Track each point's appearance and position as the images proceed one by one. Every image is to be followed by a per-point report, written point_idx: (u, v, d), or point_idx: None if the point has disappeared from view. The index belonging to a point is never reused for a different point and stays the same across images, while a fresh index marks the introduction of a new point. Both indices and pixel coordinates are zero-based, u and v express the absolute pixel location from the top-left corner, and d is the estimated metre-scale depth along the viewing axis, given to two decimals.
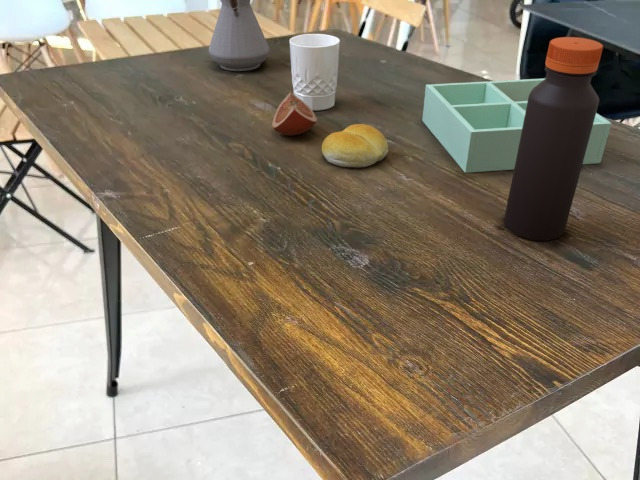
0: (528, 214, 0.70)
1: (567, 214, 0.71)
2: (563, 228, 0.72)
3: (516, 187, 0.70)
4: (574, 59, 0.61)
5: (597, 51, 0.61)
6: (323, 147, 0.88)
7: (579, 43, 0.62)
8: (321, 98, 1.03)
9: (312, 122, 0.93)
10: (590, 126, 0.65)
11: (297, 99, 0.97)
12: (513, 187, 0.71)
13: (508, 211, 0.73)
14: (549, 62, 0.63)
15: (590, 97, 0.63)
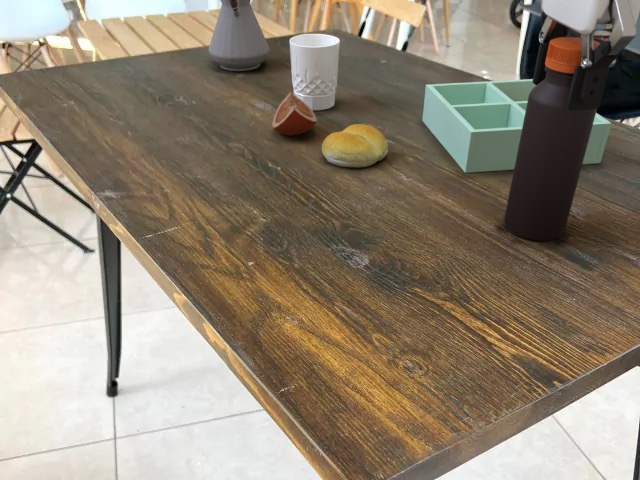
0: (528, 214, 0.70)
1: (567, 214, 0.71)
2: (563, 228, 0.72)
3: (516, 187, 0.70)
4: (574, 59, 0.61)
5: None
6: (323, 147, 0.88)
7: (579, 43, 0.62)
8: (321, 98, 1.03)
9: (312, 122, 0.93)
10: (590, 126, 0.65)
11: (297, 99, 0.97)
12: (513, 187, 0.71)
13: (508, 211, 0.73)
14: (549, 62, 0.63)
15: None
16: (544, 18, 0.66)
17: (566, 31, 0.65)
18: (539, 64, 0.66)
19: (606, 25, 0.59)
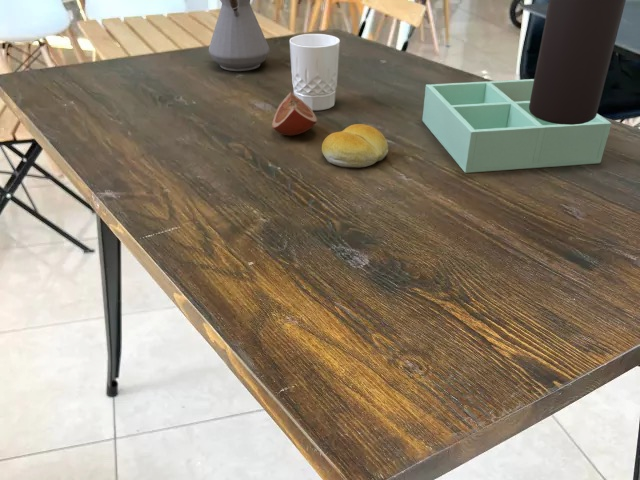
0: (557, 92, 0.63)
1: (600, 93, 0.64)
2: (595, 110, 0.65)
3: (543, 63, 0.63)
4: None
5: None
6: (323, 147, 0.88)
7: None
8: (321, 98, 1.03)
9: (312, 122, 0.93)
10: None
11: (297, 99, 0.97)
12: (540, 65, 0.64)
13: (533, 94, 0.66)
14: None
15: None
16: None
17: None
18: None
19: None
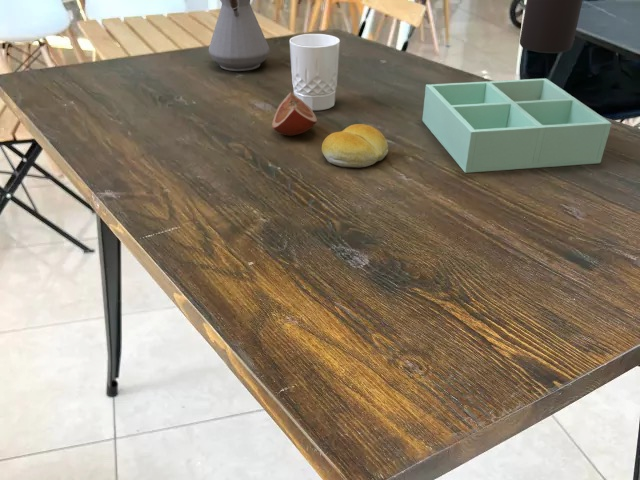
0: (541, 26, 0.82)
1: (574, 28, 0.82)
2: (571, 42, 0.83)
3: (530, 4, 0.82)
4: None
5: None
6: (323, 147, 0.88)
7: None
8: (321, 98, 1.03)
9: (312, 122, 0.93)
10: None
11: (297, 99, 0.97)
12: (528, 5, 0.82)
13: (523, 30, 0.84)
14: None
15: None
16: None
17: None
18: None
19: None
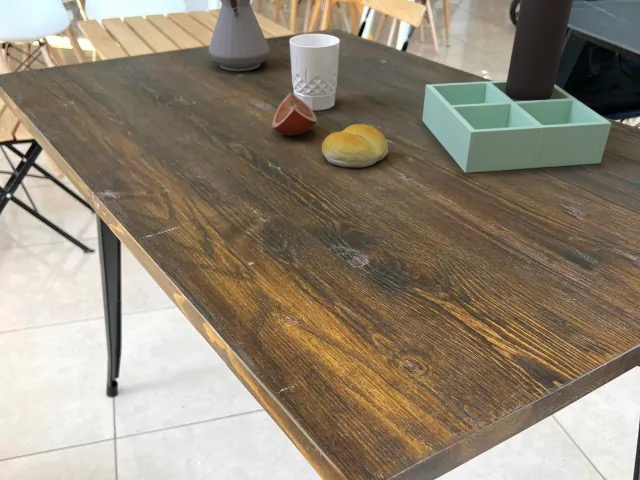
0: (523, 79, 0.92)
1: (553, 80, 0.93)
2: (550, 92, 0.94)
3: (514, 58, 0.92)
4: None
5: None
6: (323, 147, 0.88)
7: None
8: (321, 98, 1.03)
9: (312, 122, 0.93)
10: (569, 5, 0.86)
11: (297, 99, 0.97)
12: (512, 59, 0.93)
13: (508, 80, 0.94)
14: None
15: None
16: None
17: None
18: None
19: None
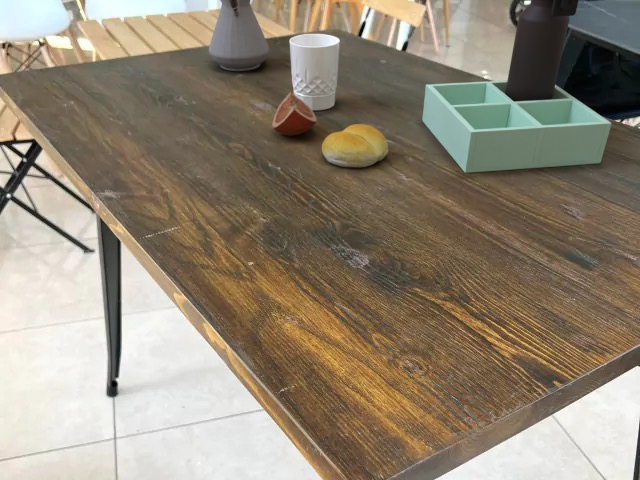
0: None
1: None
2: None
3: (510, 87, 0.94)
4: None
5: None
6: (323, 147, 0.88)
7: None
8: (321, 98, 1.03)
9: (312, 122, 0.93)
10: (563, 37, 0.89)
11: (297, 99, 0.97)
12: (508, 88, 0.95)
13: None
14: None
15: None
16: None
17: None
18: None
19: None
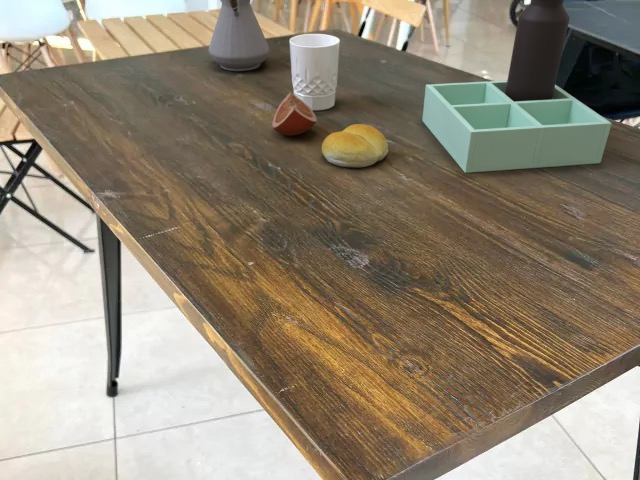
0: None
1: None
2: None
3: (510, 87, 0.94)
4: None
5: None
6: (323, 147, 0.88)
7: None
8: (321, 98, 1.03)
9: (312, 122, 0.93)
10: (563, 37, 0.89)
11: (297, 99, 0.97)
12: (508, 88, 0.95)
13: None
14: None
15: (562, 14, 0.87)
16: None
17: None
18: None
19: None
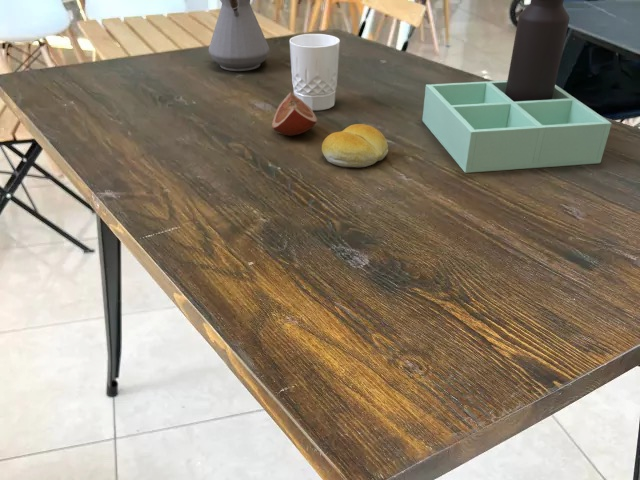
0: None
1: None
2: None
3: (510, 88, 0.94)
4: None
5: None
6: (323, 147, 0.88)
7: None
8: (321, 98, 1.03)
9: (312, 122, 0.93)
10: (563, 37, 0.89)
11: (297, 99, 0.97)
12: (507, 88, 0.95)
13: None
14: None
15: (562, 14, 0.87)
16: None
17: None
18: None
19: None
